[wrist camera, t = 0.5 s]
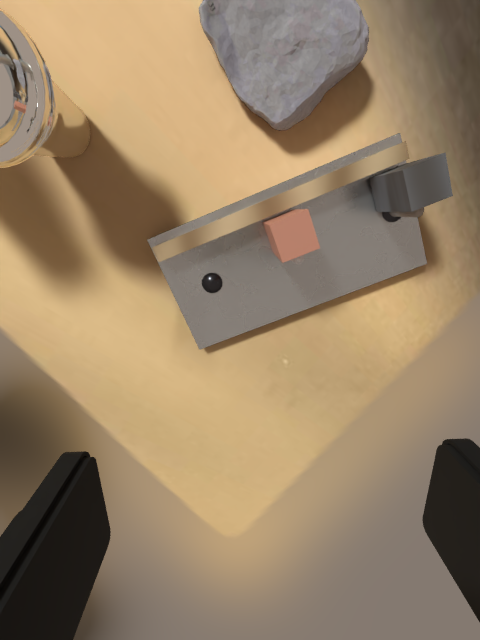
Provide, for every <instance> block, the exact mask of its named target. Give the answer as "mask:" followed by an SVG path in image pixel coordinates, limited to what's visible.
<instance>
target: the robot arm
mask: <svg viewBox="0 0 480 640" xmlns="http://www.w3.org/2000/svg"><path fill="white" fill-rule="evenodd" d="M423 525H424V529H425V532H426V533H427V535H428V537H429V538H430V540H431V542H432V544H433V545H434V547H435V549H436V550H437V552H438V554H439V555H440V557H441V559H442V560H443V562H444V564H445V565H446V567H447V569H448V570H449V572H450V574H451V575H452V577H453V579H454V580H455V582H456V583H457V585H458V586H459V589H460V590H461V592H462V593H463V595H464V597H465V598H466V600H467V602H468V604H469V605H470V607H471V609H472V610H473V612H474V614H475V615H476V617H477V618H478V620H479V622H480V448H479V447H478V446H477V445H476V444H475V443H474V442H473V441H471V440H470V439H447V440H444V441H443V443H442V445H440V446H438V448H437V451H436V456H435V461H434V466H433V471H432V475H431V480H430V485H429V490H428V495H427V500H426V504H425V509H424V514H423ZM109 540H110V526H109V521H108V516H107V511H106V506H105V501H104V497H103V492H102V487H101V482H100V477H99V472H98V467H97V463H96V459H95V458H94V457H90V455H89V453H88V452H65V453H63V454H62V455H61V456H60V458H59V459H58V460H57V462H56V463H55V465H54V466H53V468H52V469H51V470H50V472H49V473H48V475H47V476H46V477H45V479H44V480H43V482H42V483H41V485H40V486H39V488H38V489H37V490H36V492H35V493H34V494H33V496H32V497H31V499H30V500H29V501H28V503H27V504H26V506H25V507H24V508H23V510H22V511H20V512H19V513H18V514H17V515H16V516H15V517H14V519H13V520H12V521H11V523H10V524H9V525H8V527H7V528H6V530H5V531H4V533H3V534H2V535H1V537H0V640H73V638H74V635H75V633H76V630H77V627H78V624H79V622H80V619H81V617H82V614H83V611H84V609H85V606H86V603H87V601H88V598H89V595H90V593H91V590H92V587H93V585H94V582H95V579H96V577H97V574H98V571H99V569H100V566H101V563H102V561H103V558H104V555H105V553H106V550H107V547H108V544H109Z"/></svg>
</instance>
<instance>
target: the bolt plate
mask: <svg viewBox="0 0 480 640" xmlns="http://www.w3.org/2000/svg"><path fill="white" fill-rule="evenodd" d="M400 143H402V140H401V135H400V133H398V134H396V135H393V136H391V137H389V138H386V139H384V140H382V141H379V142H377V143H375V144H372V145H370V146H367V147H365V148H363V149H360V150H358V151H356V152H353V153H351V154H349V155H346V156H344V157H341V158H339V159H337V160H334V161H332V162H330V163H327V164H325V165H323V166H320V167H318V168H315V169H313V170H311V171H308V172H306V173H304V174H301V175H299V176H297V177H294V178H292V179H289V180H287V181H285V182H282V183H280V184H278V185H275V186H273V187H271V188H268V189H266V190H264V191H261V192H259V193H256V194H254V195H252V196H249V197H247V198H245V199H242V200H240V201H238V202H235V203H233V204H230V205H228V206H226V207H223V208H221V209H219V210H216V211H214V212H212V213H209V214H207V215H204V216H202V217H200V218H197V219H195V220H193V221H190V222H188V223H186V224H183V225H181V226H178V227H176V228H174V229H171V230H169V231H167V232H164V233H162V234H160V235H157V236H155V237H152V238H150V239H148V240H147V241H148V243H149V245H150V247H151V249H152V247H154V246H157V245H159V244H162V243H164V242H166V241H169V240H171V239H173V238H176V237H178V236H181V235H183V234H185V233H188V232H190V231H192V230H195V229H197V228H200V227H202V226H204V225H207V224H209V223H212V222H214V221H216V220H219V219H221V218H223V217H226V216H228V215H231V214H233V213H235V212H238V211H240V210H243V209H245V208H247V207H250V206H252V205H254V204H257V203H259V202H262V201H264V200H266V199H269V198H271V197H273V196H276V195H278V194H281V193H283V192H285V191H288V190H290V189H293V188H295V187H297V186H300V185H302V184H304V183H307V182H309V181H312V180H314V179H316V178H319V177H321V176H323V175H326V174H328V173H331V172H333V171H335V170H338V169H340V168H343V167H345V166H347V165H350V164H352V163H354V162H357V161H359V160H362V159H364V158H366V157H369V156H371V155H374V154H376V153H378V152H381V151H383V150H385V149H388V148H390V147H393V146H395V145H397V144H400ZM403 164H406V160H405V161H403V162H400V163H398V164H395V165H393V166H391V167H388V168H386V169H383V170H381V171H378V172H376V173H374V174H371V175H369V176H366V177H364V178H362V179H359V180H357V181H354V182H352V183H349V184H347V185H345V186H342V187H340V188H337V189H335V190H333V191H330V192H328V193H325V194H323V195H320V196H318V197H316V198H313V199H311V200H308V201H306V202H304V203H301V204H299V205H296V206H294V207H291V208H289V209H287V210H284V211H282V212H279V213H277V214H275V215H272V216H270V217H267V218H265V219H262V220H260V221H258V222H255V223H253V224H250V225H248V226H246V227H243V228H241V229H238V230H236V231H233V232H231V233H229V234H226V235H224V236H221V237H219V238H217V239H214V240H212V241H209V242H207V243H204V244H202V245H200V246H197V247H195V248H192V249H190V250H188V251H185V252H183V253H180V254H178V255H175V256H173V257H171V258H168V259H166V260H163V261H161V262H158V260H157V262H158V264H159V266H160V268H161V270H162V272H163V274H164V276H165V278H166V280H167V282H168V285H169V287H170V289H171V291H172V293H173V295H174V297H175V299H176V301H177V303H178V305H179V308H180V310H181V312H182V314H183V316H184V318H185V320H186V322H187V324H188V326H189V328H190V330H191V333H192V335H193V337H194V339H195V341H196V343H197V345H198V347H199V349H203V348H205V347H208V346H210V345H213V344H216V343H218V342H221V341H224V340H226V339H229V338H232V337H234V336H237V335H240V334H242V333H245V332H248V331H250V330H253V329H255V328H258V327H261V326H263V325H266V324H269V323H271V322H274V321H277V320H279V319H282V318H285V317H287V316H290V315H293V314H295V313H298V312H301V311H303V310H306V309H308V308H311V307H314V306H316V305H319V304H322V303H324V302H327V301H330V300H332V299H335V298H338V297H340V296H343V295H346V294H348V293H351V292H353V291H356V290H359V289H361V288H364V287H367V286H369V285H372V284H375V283H377V282H380V281H383V280H385V279H388V278H391V277H393V276H396V275H398V274H401V273H404V272H406V271H409V270H412V269H414V268H417V267H420V266H422V265H425V264H427V261H426V256H425V251H424V246H423V241H422V237H421V232H420V227H419V222H418V217H393V216H391V215H390V212H377V209H376V205H375V201H374V197H373V193H372V189H371V185H370V181H369V178H371V177H374V176H376V175H378V174H381V173H383V172H386V171H388V170H391V169H393V168H395V167H398V166H400V165H403ZM294 209H308V210H309V213H310V216H311V220H312V223H313V226H314V229H315V233H316V236H317V239H318V242H319V245H320V248H319V249H317V250H314V251H312V252H309V253H307V254H304V261H303V262H302V263H300V264H295V263H294V262H293V261H292V260H289V261H287V262H284V263H282V262H281V261H280V260H279V259H278V257H277V256H276V255H275V254H274V253H273V250H272V248H271V245H270V242H269V239H268V236H267V234H266V231H265V228H264V225H263V223H262V222H265V221H267V220H269V219H272V218H274V217H277V216H279V215H281V214H284V213H286V212H289V211H291V210H294ZM152 251H153V250H152ZM153 253H154V252H153ZM154 255H155V254H154ZM155 257H156V256H155ZM156 259H157V258H156Z"/></svg>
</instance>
